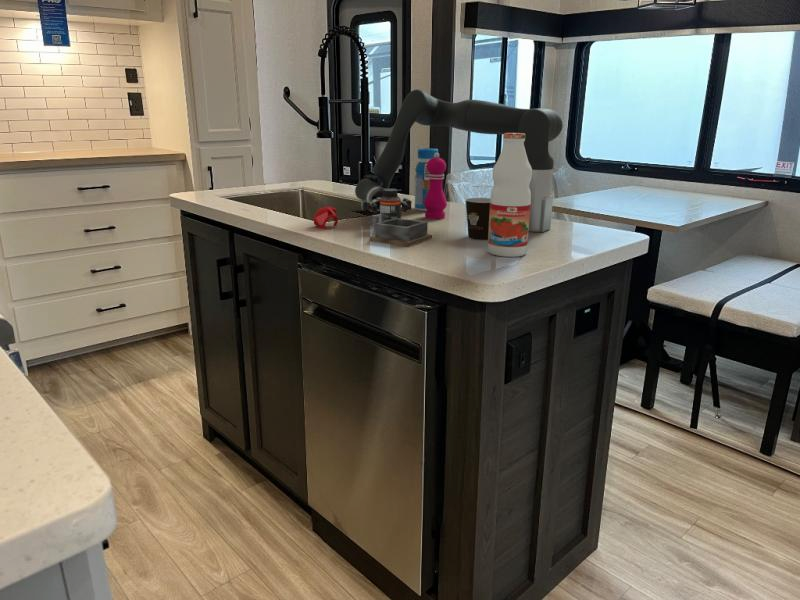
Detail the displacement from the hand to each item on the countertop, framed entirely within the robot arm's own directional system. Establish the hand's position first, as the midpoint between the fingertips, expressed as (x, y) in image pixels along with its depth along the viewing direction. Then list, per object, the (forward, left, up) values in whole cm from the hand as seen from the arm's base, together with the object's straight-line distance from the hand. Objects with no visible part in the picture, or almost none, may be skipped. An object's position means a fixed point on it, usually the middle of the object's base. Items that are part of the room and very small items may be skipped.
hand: (391, 208), depth 173 cm
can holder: (-10, +10, -6) cm, 15 cm away
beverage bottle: (+9, -36, -6) cm, 38 cm away
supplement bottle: (0, 0, -6) cm, 6 cm away
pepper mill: (-1, -24, -6) cm, 25 cm away
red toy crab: (+17, +8, -6) cm, 20 cm away
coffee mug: (-27, -4, -6) cm, 28 cm away
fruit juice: (-39, +8, -6) cm, 40 cm away
